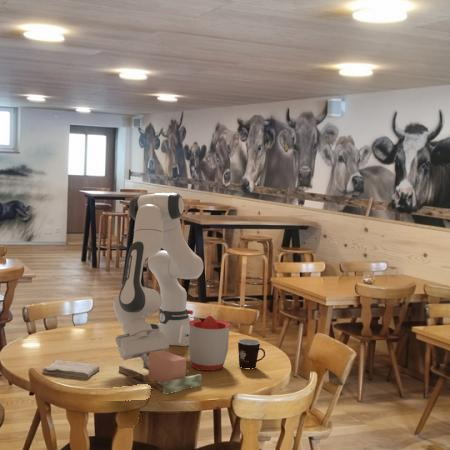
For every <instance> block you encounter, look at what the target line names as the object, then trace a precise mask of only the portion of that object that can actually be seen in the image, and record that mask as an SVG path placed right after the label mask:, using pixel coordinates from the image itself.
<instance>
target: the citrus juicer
mask: <svg viewBox="0 0 450 450" xmlns="http://www.w3.org/2000/svg"><path fill="white" fill-rule="evenodd" d="M191 320H192V321H190V322H189V324H190V331H189V345H188V353H189V358H190V360H189V361H190V363H191V366H192V367H193V368H195V369H196V370H198V369H200V370H199V371H219V370H221V369H222V368H223V367H224V365H225V362H226V358H227V355H228V350H229V338H230V336H229V335H230V326H231V323H229V322H228V321H224V320H221V319H216V318H214V317H213V316H212V315H208V316H206V318H205V319H204V320H203V321H202V320H201V319H200V318H199V319H191Z"/></svg>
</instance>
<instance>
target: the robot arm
mask: <svg viewBox="0 0 450 450" xmlns="http://www.w3.org/2000/svg"><path fill="white" fill-rule="evenodd" d="M184 210H185V203H184V200H183V197H182V196H181V195H180V194H179V193H176V192H155V193H148V194H143V195H142V194H139V195H134V196H133V197H132V198H131V199H130V201H129V205H128V211H129V215H130V217H131V219H133V221H134V228H133V239H132V243H131V245H130V246H129V250H128V253H127V256H126V264H125V271H124V277H123V282H122V285H121V289H120V290H119V293H118V294H117V295H116V296H115V297H114V299H113V302H112V304H113V305H112V306H113V307H112V308H113V310H114V313H115V315H116V318H117V320H118V322H119V323H120V324H121V327H122V331H123V333H124V334H121V335H117V336H116V338H115V344H116V345H117V348H118V352H119V354H120V357H121V359H122V360H124V361H128V360H132V359H137V358H140V359H141V360H142V361H143V363H144V362H146V363H147V365H148V366H149V355H150V352H154V351H160V350H165V351H167V352H168V350H169V348H170V346H181V347H187V346H189V331H190V324H189V322H190V321H192V320H193V319H191V318H190V317H189V316H190V315H191V316H192V315H193V314H194V312H195V311H194V310H192V309H188V308H187V297H188V295H187V294H188V293H187V291H186V289H185V288H184V287H183V286H182V285H181V284H180V282H179V281H178V279H182V280H183V279H184V280H194V279H195V280H196V279H199V277H200V276H201V275H202V273H203V271H204V261H203V259H202V258H201V257H200V256H199V255H197V253H195V252H194V251H193V250H192V249H191V248H190V247H189V244H188V243H187V241H186V240H185V237H184V233H183V229H182V224H181V220H180V218H181V217H182V215H183V214H184ZM147 258H148V260H147V266H148V269H149V271H150V272H151V273H152V274H153V275H154V277H155V278H156V280H157V282H158V285H159V290H160V292H159V291H158V290H156V289H152V288H149V287H144V286H143V285H142V277H143V276H142V274H143V269H144V268H143V267H144V263H145V260H146V259H147ZM157 312H158V319H159V320H158V321H159V322H158V324H157V323H151V322H148V321H146V320H145V318H148V317H150V316H152V315H154V314H156V313H157Z"/></svg>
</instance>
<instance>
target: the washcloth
mask: <svg viewBox="0 0 450 450" xmlns="http://www.w3.org/2000/svg"><path fill="white" fill-rule="evenodd" d="M99 370H100V365H98V364H92V363H86V362H78V361H70V360H61V359H56V360H54V361H53V362H52V363H50V364H48V365H46V366H45V367H43V368H42V373H43V374H46V375H50V376H57V377H66V378H73V379H74V378H75V379H81V380H87V379H90V378H91V377H92V375H94V374H96V373H98V371H99Z"/></svg>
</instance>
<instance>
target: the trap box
mask: <svg viewBox="0 0 450 450" xmlns="http://www.w3.org/2000/svg"><path fill="white" fill-rule="evenodd" d="M143 367H144V368H146V367H147V369H149V366H148V365H147V363H146V362H144V361H143ZM118 372H120V373H122V374H124V375H126V377H125V378H124V383H125V384H126V385H128V386H131V385H137V384H148V385H150V386H151V388H155V389H157V388H159V389H161V390H160V391H162V390H163V391H162V394H163V393H164V394H167V393H171V392H175V391H179V392H181V391H180V390H183V391H185V390H184V389H187V390H189V389H188V388H191V387H195V388H197V387H196V386H199V387H201V386H202V374H200V373H198V374H194V375H193V374H192V375H189V372H190V370H189V369H186V375H185V377H184V378H180V379H175V380H171V381H167V382H161V381H154V382H152V381H150V382H147V381H145V380H144V374H143V373H141V372H138V371H136V370H133V369H132V368H129V367H127V366H124V365H119V366H118ZM188 375H189V376H188ZM200 385H201V386H200ZM159 389H158V390H159ZM191 389H192V388H191ZM175 393H176V392H175ZM164 394H163V395H164ZM171 394H172V393H171ZM167 395H168V394H167Z"/></svg>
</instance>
